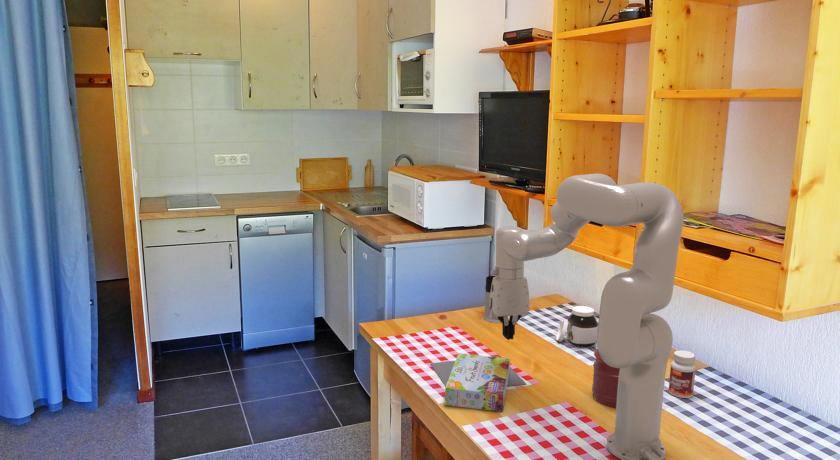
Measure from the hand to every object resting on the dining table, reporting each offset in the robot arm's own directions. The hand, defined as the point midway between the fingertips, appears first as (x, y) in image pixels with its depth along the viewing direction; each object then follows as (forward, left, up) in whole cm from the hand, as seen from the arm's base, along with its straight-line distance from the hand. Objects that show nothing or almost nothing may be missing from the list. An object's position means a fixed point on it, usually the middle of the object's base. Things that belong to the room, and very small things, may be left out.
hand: (508, 337), depth 174 cm
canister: (-15, -25, -14) cm, 32 cm away
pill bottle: (-17, -43, -14) cm, 48 cm away
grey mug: (+49, -18, -14) cm, 53 cm away
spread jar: (+23, -33, -14) cm, 42 cm away
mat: (+8, +6, -13) cm, 16 cm away
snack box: (-6, +3, -10) cm, 12 cm away
